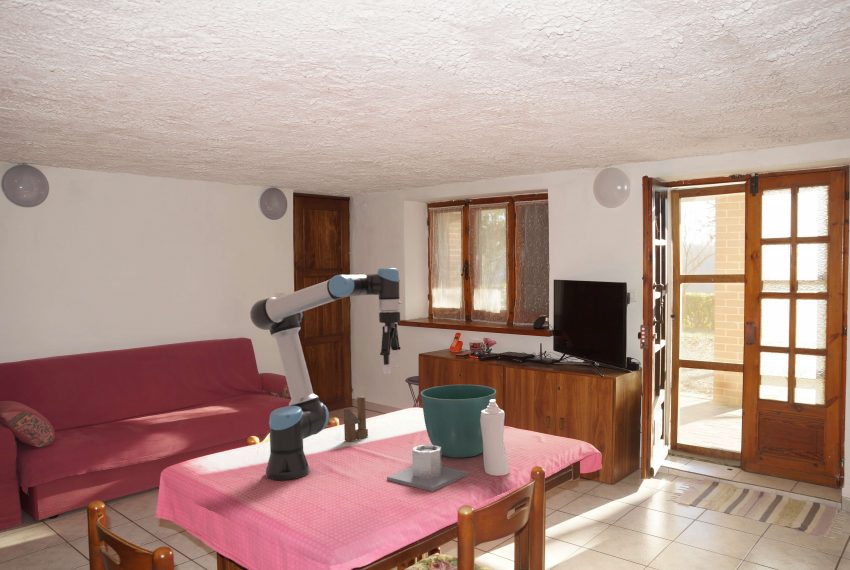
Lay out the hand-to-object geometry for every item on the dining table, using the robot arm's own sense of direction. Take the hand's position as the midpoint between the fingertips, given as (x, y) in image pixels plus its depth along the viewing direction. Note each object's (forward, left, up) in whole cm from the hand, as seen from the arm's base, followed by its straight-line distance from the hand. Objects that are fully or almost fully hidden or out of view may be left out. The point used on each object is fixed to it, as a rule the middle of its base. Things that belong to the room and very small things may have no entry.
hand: (391, 370), depth 218 cm
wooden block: (+26, +45, -37) cm, 64 cm away
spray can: (+23, -28, -37) cm, 52 cm away
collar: (+3, -13, -36) cm, 38 cm away
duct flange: (+3, -13, -37) cm, 39 cm away
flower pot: (+35, -4, -37) cm, 51 cm away
